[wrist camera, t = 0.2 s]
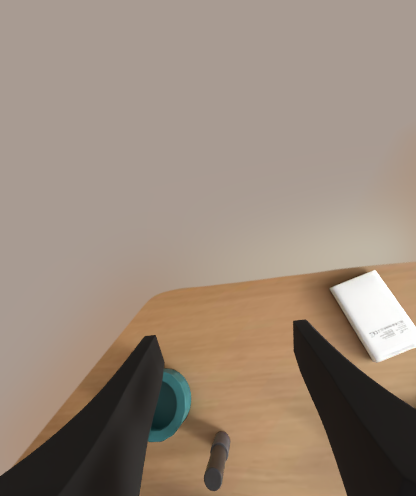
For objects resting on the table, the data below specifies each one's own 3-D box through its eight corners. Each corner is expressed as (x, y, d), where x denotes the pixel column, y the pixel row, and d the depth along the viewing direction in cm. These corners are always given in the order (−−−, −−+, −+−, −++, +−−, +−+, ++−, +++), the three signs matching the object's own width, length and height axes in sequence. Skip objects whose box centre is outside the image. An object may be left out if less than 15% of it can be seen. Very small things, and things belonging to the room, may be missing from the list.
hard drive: (371, 272, 41) (420, 342, 36) (328, 289, 41) (372, 362, 36) (375, 269, 40) (428, 342, 35) (331, 287, 40) (377, 362, 35)
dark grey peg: (231, 450, 35) (225, 493, 25) (215, 450, 35) (202, 494, 25) (229, 430, 36) (222, 464, 26) (213, 431, 36) (201, 465, 26)
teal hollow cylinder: (192, 430, 36) (186, 440, 33) (138, 433, 37) (125, 443, 33) (189, 366, 40) (183, 368, 36) (139, 370, 41) (128, 373, 37)
